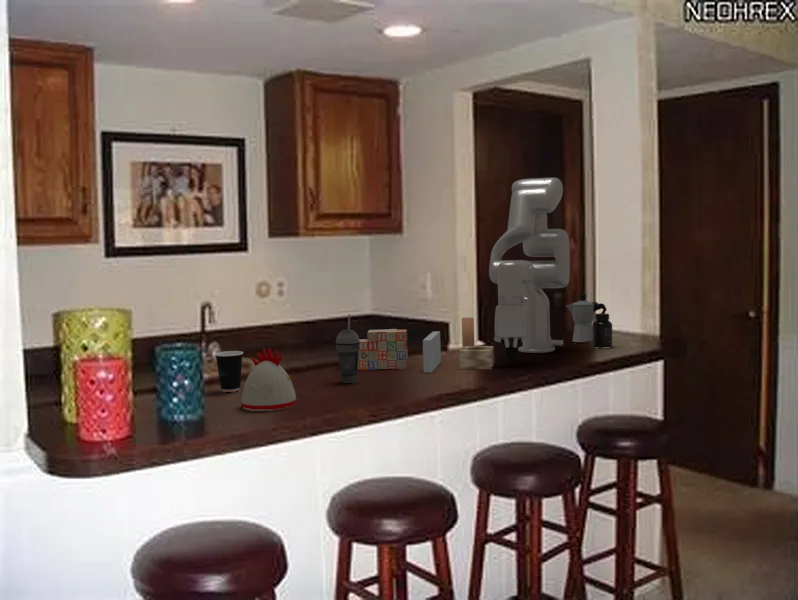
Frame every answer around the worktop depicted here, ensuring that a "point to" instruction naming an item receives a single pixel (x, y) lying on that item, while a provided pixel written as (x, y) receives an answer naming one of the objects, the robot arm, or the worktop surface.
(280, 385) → the kitchen timer
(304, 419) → the worktop surface
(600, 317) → the supplement bottle
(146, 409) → the worktop surface
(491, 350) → the socket block
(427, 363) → the backstop wall
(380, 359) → the stack of blocks
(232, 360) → the dixie cup
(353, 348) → the beverage cup
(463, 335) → the dowel
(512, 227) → the robot arm
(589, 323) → the coffee maker
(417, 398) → the worktop surface
